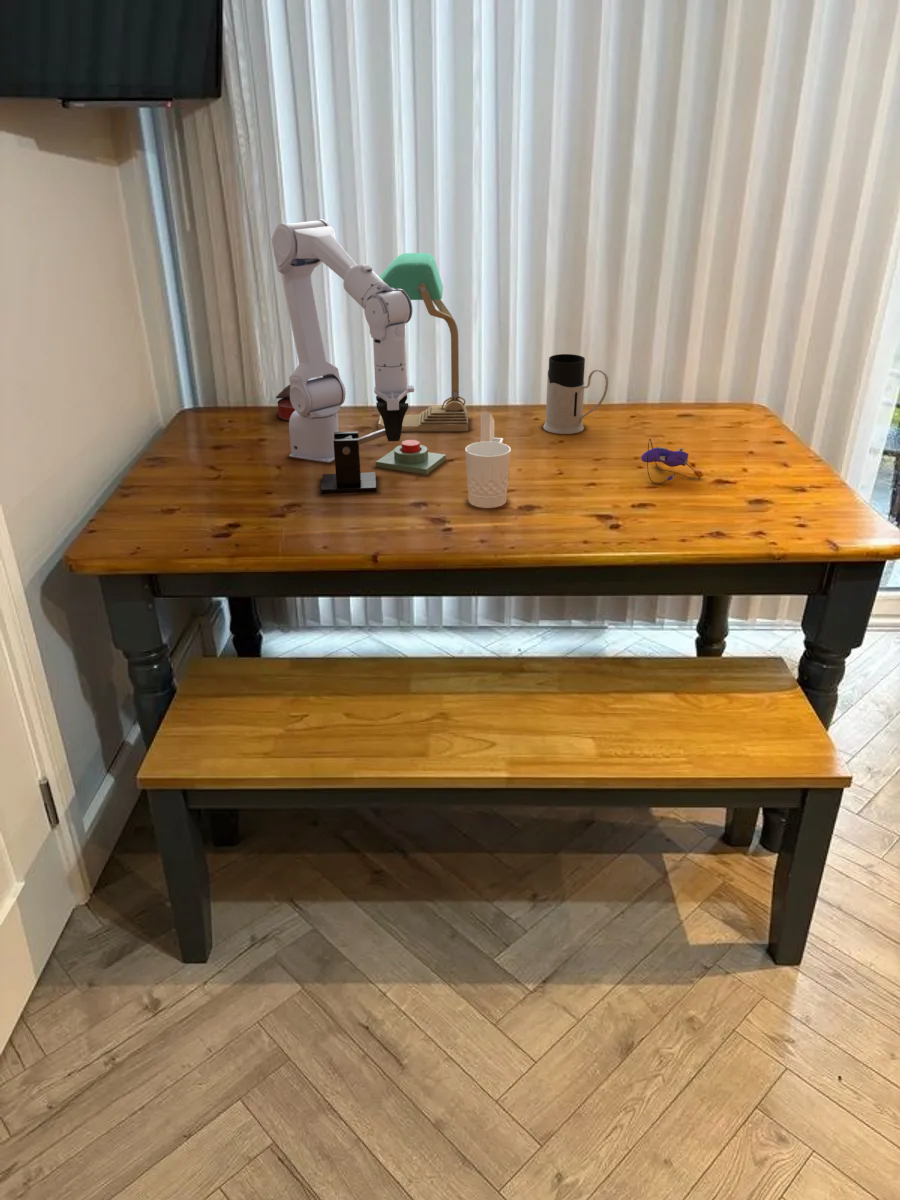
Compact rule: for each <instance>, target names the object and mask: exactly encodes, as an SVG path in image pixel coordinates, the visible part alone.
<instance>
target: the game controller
mask: <svg viewBox="0 0 900 1200" xmlns="http://www.w3.org/2000/svg"><path fill="white" fill-rule="evenodd" d="M650 445H651V449H649V448H650ZM647 446H648V447H647V451H645V452H643V453H642V455H641V456H640V460H641V461H642V463H646V468H647V470H649V463H655V466H656V468H657V469H658V470H659V471H664V472H670V473H675V474H678V475H679V476H680V475H681V476H683V477H686V478H690V479H691V477H690V476H687V475H684V474H681V473H678V472H675V471H671V470H667V469H660V468H659V467H658V464H657V463H662V464H664V465H666V466H667V467H670V468H674V467H678V466H683V467H685V466H686V465H687V466H688V467H689V468H690V469H691V470H692V471H693V472H694V473H695V474H696V475H697V477H698V480H700V479H701V478H700V475H699V474H698V473H697V471H696V470H694V468H693V467H692V466H690V465H689V464H688V462H689V460H688V458H689V453H688V452H686V451H684V450H685V449H684V448H683V447H679V448H678V450H676V451H674V450H670V449H669V448H666V447H660V446H659V447H658V446H656V447H653V444H652V439H651V438H649V439H648V443H647ZM675 474H673V475H670V476H669V477H667V479H666V480H664V481H662V482H658V483H656V482H654V481H653V480H652V479H651V477H650V472H649V471H647V475H648V478H649V480H650V482H652V483H653V484H655V485H660V484H664V483H666V482H670V481H672V480H673V479H674V478H675V477H676V475H675ZM693 479H694V480H695V478H694V477H692V480H693Z"/></svg>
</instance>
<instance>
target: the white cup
mask: <svg viewBox="0 0 900 1200" xmlns="http://www.w3.org/2000/svg"><path fill="white" fill-rule="evenodd" d="M511 449H512V447H510V446H509V445H508V444H506V443H504V442H503V443H499V442H491V441H484V442H480V441H476V442H472V443H470V444H468V445H466V446H465V448H464V450H465V451H464V452H465V472H466V474H465V475H466V486H467V497H468V498H467V500H468V503H469V504H470V505H471V506H474V507H477V508H483V509H489V508H490V509H492V508H497V507H502V506H504V505H505V504H506V503H507V496H508V495H507V493H508V489H509V481H510V465H511V453H512V450H511Z"/></svg>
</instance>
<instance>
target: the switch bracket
mask: <svg viewBox="0 0 900 1200" xmlns="http://www.w3.org/2000/svg"><path fill="white" fill-rule="evenodd" d="M348 436H352V438H353V439H342V438H345V437H348ZM356 438H357V439H356ZM358 438H359V430H358V431H339V432H334V441H333V442H334V456H335V460H334V469H335V473H323V474H322V476H321V485H320V495H336V494H361V493H363V494H364V493H377V475H376V473H377V472H375V471H371V472H370V471H369V472H361V456H360V445H359V444H358Z"/></svg>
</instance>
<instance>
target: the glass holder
mask: <svg viewBox="0 0 900 1200" xmlns="http://www.w3.org/2000/svg"><path fill="white" fill-rule="evenodd" d="M585 364H586V358H585V356H582V355H578V354H574V353H573V354H571V353H561V354H554V355H551V356H549V357H548V369H547V379H546V380H547V381H546V403H545V421H544V424H543V425H542V426H543V427H542V428H543V429H544V431H546V432H549V433H552V434H557V435H572V434H578V433H581V432H583V431H584V429H585V427H584V423H583V419H584V418H585V417H586V416H588V415H589V414H591V413H592V412H594V411H595V410H596V409H597V408H599V407H600V406H601V405H602V403H603V402H604V400H605V398H606V396H607V393H608V390H609V389H608V388H609V376H608V375H607V373H606V371H604V370H602V369H600V368H599V369H598V368H597V369H594V370H592V371H591V372H590V373H589V375H588V378H587V385H586V386H585V367H586V366H585ZM595 372H599V373H601V374H602V375H603V376H604V379H605V387H604V392H603V395H602V396H601V399H600V400H599V401H598V403H597V404H596V405H595V406H594V407H593V408H592V409H590V410H588V411H587V412H585V413H584V398H585V397H584V395H585V389H588V388H590V386H591V383H592V382H591V381H592V376H593V374H594V373H595ZM583 413H584V414H583Z"/></svg>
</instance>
